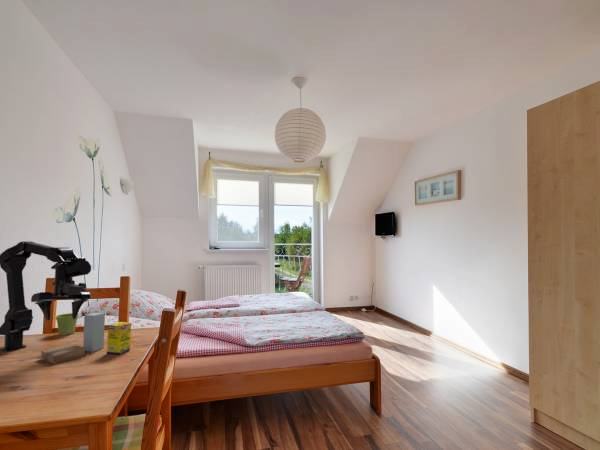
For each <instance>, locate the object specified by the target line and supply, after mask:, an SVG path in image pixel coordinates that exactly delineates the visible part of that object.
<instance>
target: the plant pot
mask: <svg viewBox="0 0 600 450" xmlns="http://www.w3.org/2000/svg"><path fill="white" fill-rule="evenodd" d="M79 315H80V313H78V314H77V316H76V318H75V319H73V317H72V312H71V313H63V314H62V313H61V314H58V315H55V316H54V318H55V319H56V324H57V332H58V335H60V336H67V335H73V334H74V333H76V332H75V331H76V327H77V321H78V318H79Z"/></svg>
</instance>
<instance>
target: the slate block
mask: <svg viewBox="0 0 600 450" xmlns="http://www.w3.org/2000/svg"><path fill="white" fill-rule="evenodd" d="M83 316H84V317H83V318H84V320H83V322H84V323H83V339H82V340H83V343H82V345H83V346H82V347H85V352H91V353H94V352H96V351H100V350H102V349H104V346H105V325H106V324H105V319H106V318H105V317H106V314H105V313H104V312H91V313H87V314H84V315H83Z"/></svg>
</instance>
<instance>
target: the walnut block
mask: <svg viewBox="0 0 600 450" xmlns="http://www.w3.org/2000/svg"><path fill="white" fill-rule="evenodd" d="M85 354H86V351H85V347H83V346H80V345H77V344H74V343H69V344H65V345H60V346H56V347H53V348H52V347H51V348H48V349H44V350H43V349H42V350H41V352H40V360H41V361H45V362H48V363H51V364H53V365H56V364H60V363H63V362H64V363H65V362H66V361H67V362H68V361H70V360H74V359H78V358H81V357H85V356H86V355H85Z"/></svg>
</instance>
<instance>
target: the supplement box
mask: <svg viewBox="0 0 600 450" xmlns="http://www.w3.org/2000/svg"><path fill="white" fill-rule="evenodd" d="M131 329H132V322H130V321H129V322H128V321H127V322H126V321H117V322H114V323H113V324H112V323H111V324H108V325H107V341H106V342H107V345H106V354H109V355H122V354H124V353H126V352H129V351H130V350H131V333H132V332H131V331H132V330H131Z"/></svg>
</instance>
